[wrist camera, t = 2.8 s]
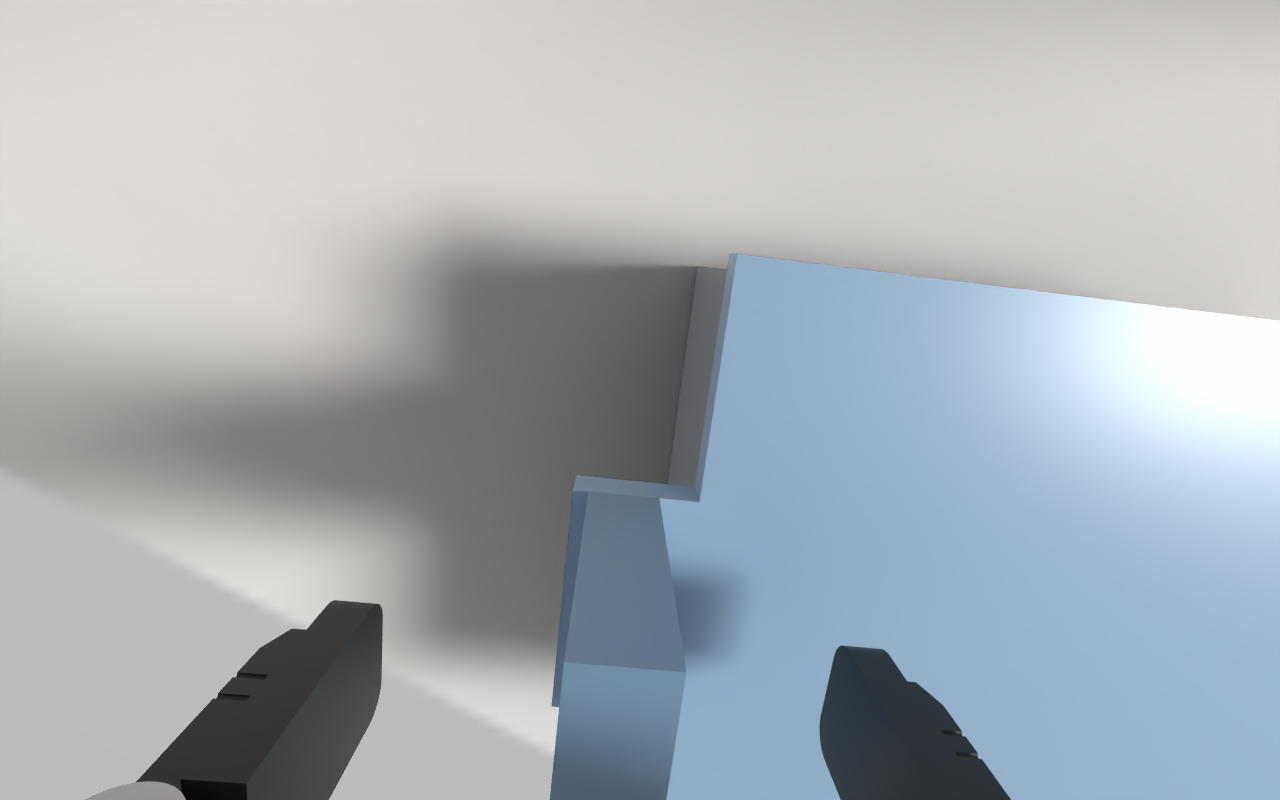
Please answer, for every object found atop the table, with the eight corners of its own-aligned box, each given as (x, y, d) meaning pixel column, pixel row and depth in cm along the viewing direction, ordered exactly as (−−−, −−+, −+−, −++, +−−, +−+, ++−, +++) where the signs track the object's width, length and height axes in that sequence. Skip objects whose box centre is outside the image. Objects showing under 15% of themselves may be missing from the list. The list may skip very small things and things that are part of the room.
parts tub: (697, 266, 18) (742, 271, 11) (1241, 332, 19) (1581, 374, 12) (643, 658, 21) (652, 844, 15) (1111, 697, 22) (1324, 888, 16)
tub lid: (601, 239, 12) (578, 217, 6) (1529, 354, 13) (2423, 450, 7) (544, 809, 15) (486, 1221, 9) (1289, 860, 17) (1727, 1256, 10)
